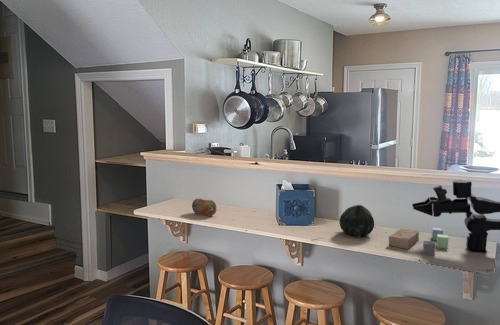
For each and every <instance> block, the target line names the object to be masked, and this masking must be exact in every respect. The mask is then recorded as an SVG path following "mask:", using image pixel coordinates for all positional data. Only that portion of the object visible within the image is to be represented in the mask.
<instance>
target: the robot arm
mask: <svg viewBox="0 0 500 325" xmlns="http://www.w3.org/2000/svg"><path fill="white" fill-rule="evenodd" d="M472 185H473V183H472V181H471V180H469V181H468V180H462V179H454V180H453V181H452V195H453V196H454V197H455V198H450V197H447V195H446V194H448V191H447V189H446V188H443V187H442V185H441V184H440V185H437V186H435V187H433V188H432V190H433V191H434V192H435V195H436V197H435V196H429V197H427V198H426V199H425V200H424V201H420V202H416V203H412V208H413V210H414V211H417V212H420V213H423V214H426V215H428V216H431V217H433V218H437V217H440V216H441V215H442V214H449V215H450V214H451V215H452V214H465V218H464V222H463V223H464V225H465V228H466V229H467V231H469V232H468V236H466V240H465V241H466V244H465V245H466V248H467V250H468V251H469V252H479V253H487V252H488V251H487V243H488V242H487V241H488V236H489V233H488V232H490V231H500V219H499V218H493V219H492V218H487V217H486V215H489V214H494V213H500V201H497V200H492V199H489V198H486V197H481V196H479V197H478V196H475V194H473V193H472ZM469 201H470V203H469ZM471 208H472V210H473V211H474V212H475V213H476V214H475V213H473V211H472V210H471Z"/></svg>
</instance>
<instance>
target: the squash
mask: <svg viewBox="0 0 500 325" xmlns="http://www.w3.org/2000/svg"><path fill="white" fill-rule="evenodd" d="M338 222H339V227H340V229H341V230H342V232H344V233H346V234H347V235H351V236H354V237H356V238H359V237H361V238H364V237H366V236H368V235H369V234H371V233H372V232H373V230H374V228H375V218H374V216H373V214H372V213H371V211H370V210H369V209H367V208H366V207H365V206H364V205H362V204H356V205H352V206H349V207H347V208H346V209H345V210H344V211H343V213H341V215H340V218H339V220H338Z"/></svg>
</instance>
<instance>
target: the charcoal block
mask: <svg viewBox="0 0 500 325" xmlns="http://www.w3.org/2000/svg"><path fill="white" fill-rule="evenodd" d="M422 244H423V246H422V254H423V255H424V256H425V255H426V256H435V255H436V254H435V253H436V252H435V251H436V243H435V241H429V240H423V242H422Z"/></svg>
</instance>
